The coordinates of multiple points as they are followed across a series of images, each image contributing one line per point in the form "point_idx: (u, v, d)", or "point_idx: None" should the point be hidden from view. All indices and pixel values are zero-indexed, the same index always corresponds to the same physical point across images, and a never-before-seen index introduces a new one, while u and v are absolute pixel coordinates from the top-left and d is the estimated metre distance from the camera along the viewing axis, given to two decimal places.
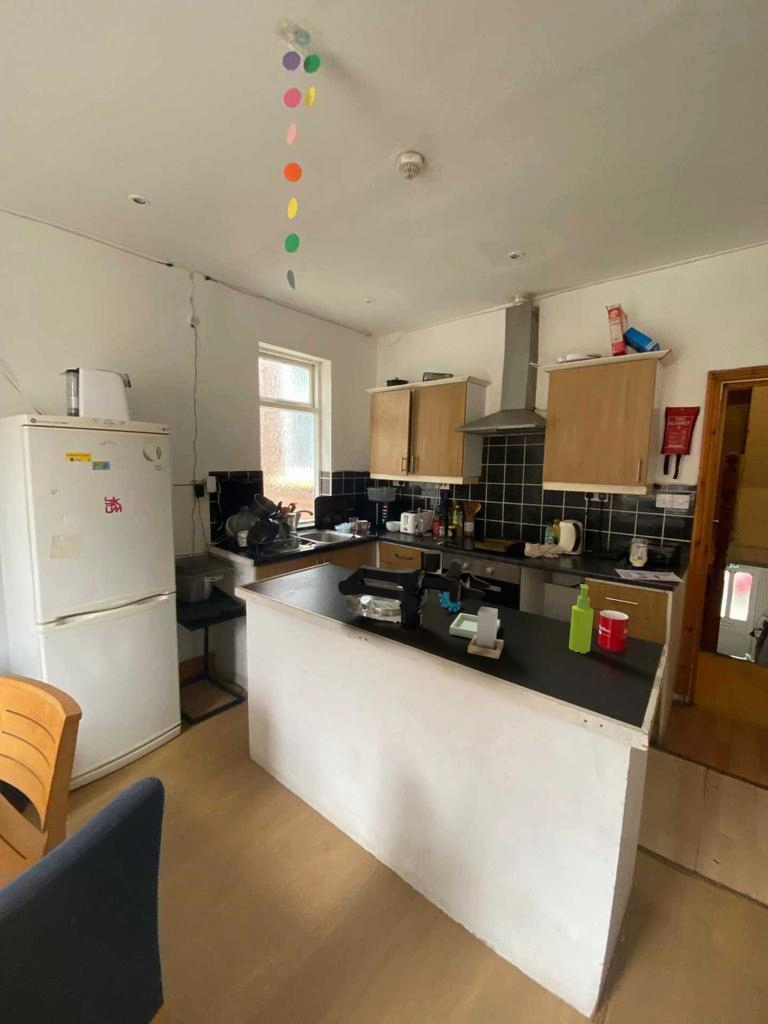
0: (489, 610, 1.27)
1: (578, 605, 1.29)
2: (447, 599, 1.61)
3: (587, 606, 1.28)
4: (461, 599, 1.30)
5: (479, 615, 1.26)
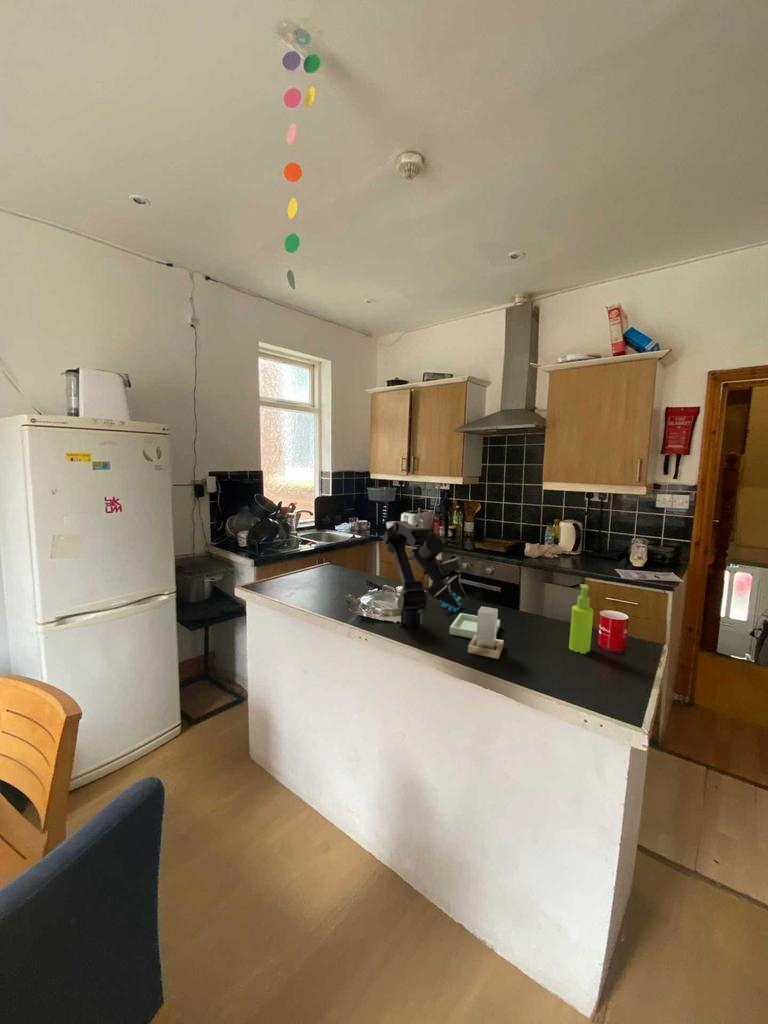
0: (489, 610, 1.27)
1: (578, 605, 1.29)
2: None
3: (587, 606, 1.28)
4: (437, 596, 1.26)
5: (479, 615, 1.26)
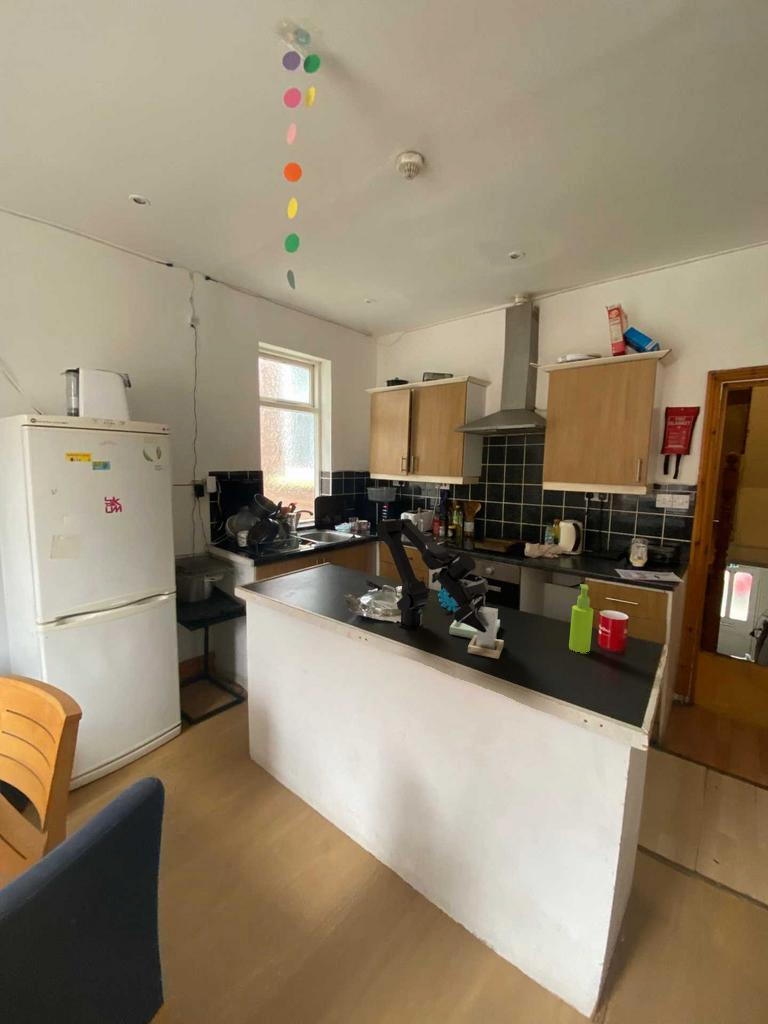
0: (489, 610, 1.27)
1: (578, 605, 1.29)
2: (446, 599, 1.61)
3: (587, 606, 1.28)
4: (463, 621, 1.23)
5: (479, 615, 1.26)
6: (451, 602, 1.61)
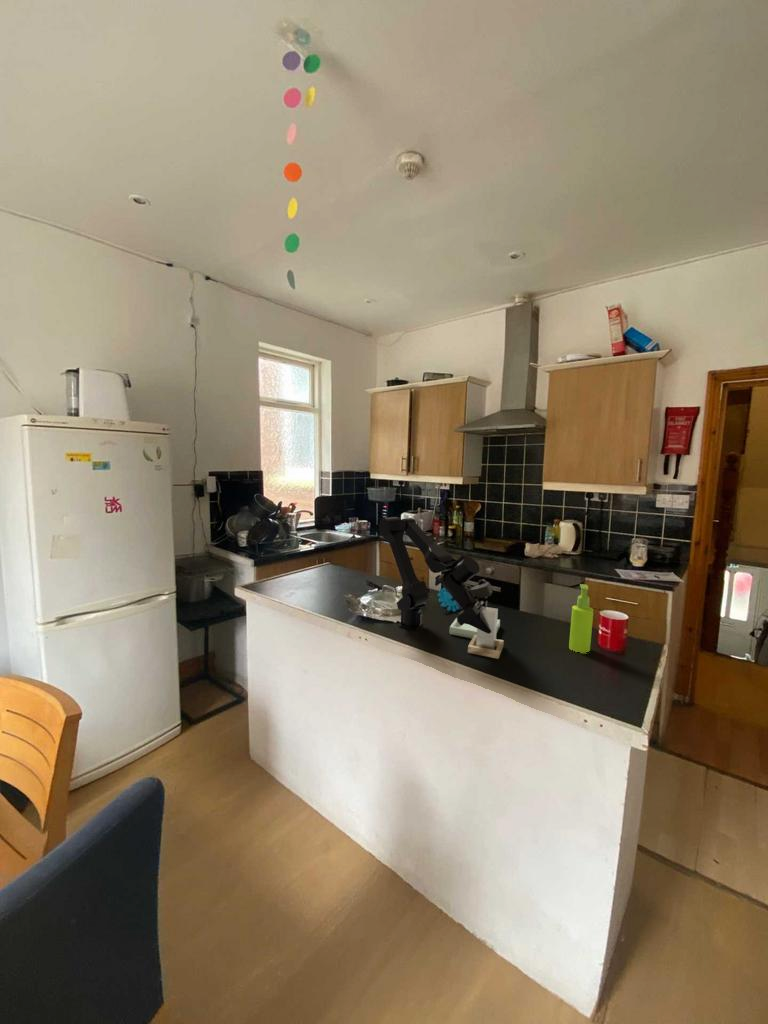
0: (489, 610, 1.27)
1: (578, 605, 1.29)
2: (446, 599, 1.61)
3: (587, 606, 1.28)
4: (468, 622, 1.25)
5: None
6: (451, 602, 1.62)
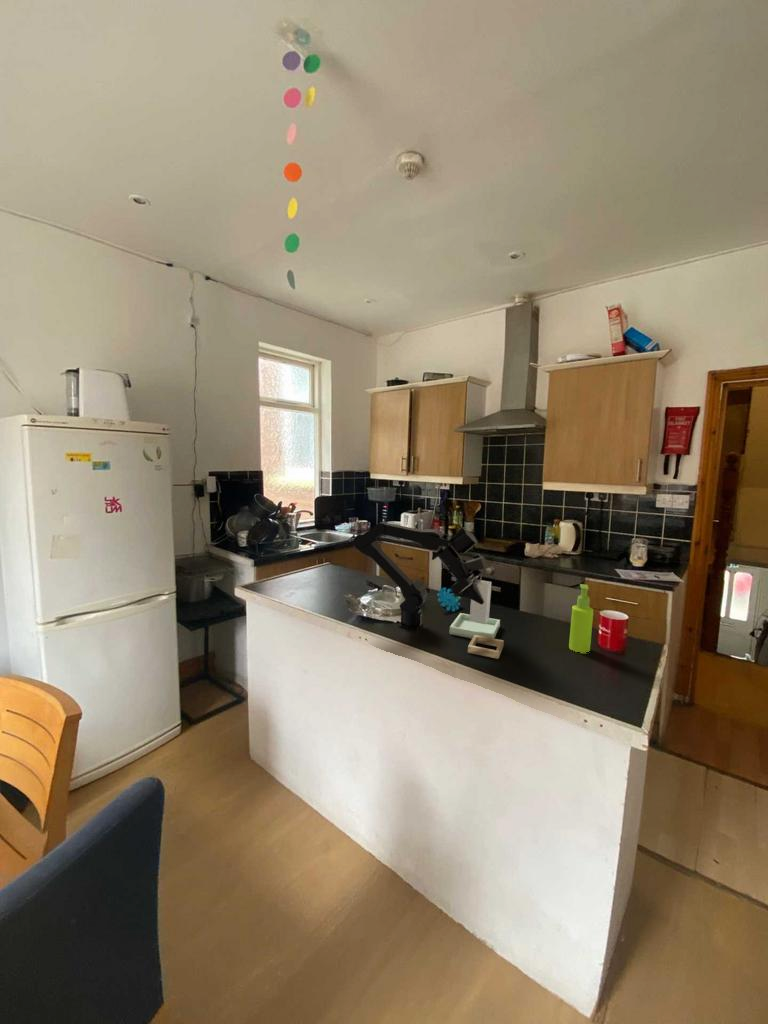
0: (483, 583, 1.34)
1: (578, 605, 1.29)
2: (446, 598, 1.62)
3: (587, 606, 1.28)
4: (462, 592, 1.32)
5: None
6: (450, 602, 1.62)
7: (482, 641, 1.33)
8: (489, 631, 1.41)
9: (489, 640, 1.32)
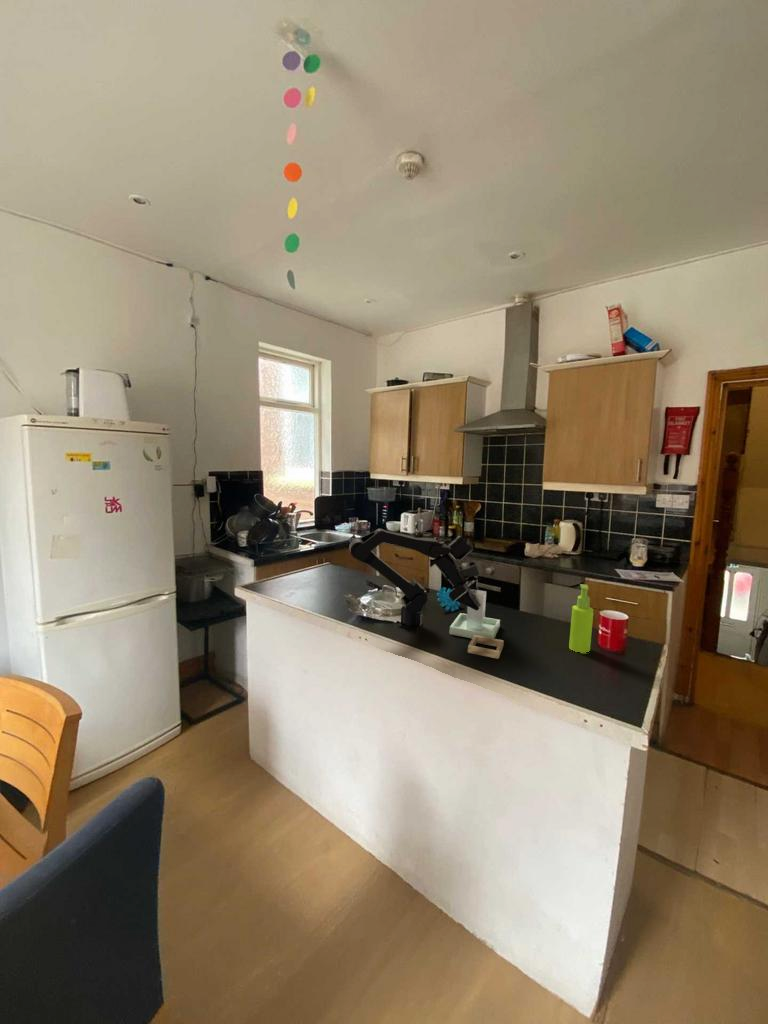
0: (478, 592, 1.41)
1: (578, 605, 1.29)
2: (445, 598, 1.62)
3: (587, 606, 1.28)
4: (458, 599, 1.37)
5: None
6: (450, 601, 1.62)
7: (482, 641, 1.33)
8: (489, 631, 1.41)
9: (489, 640, 1.32)
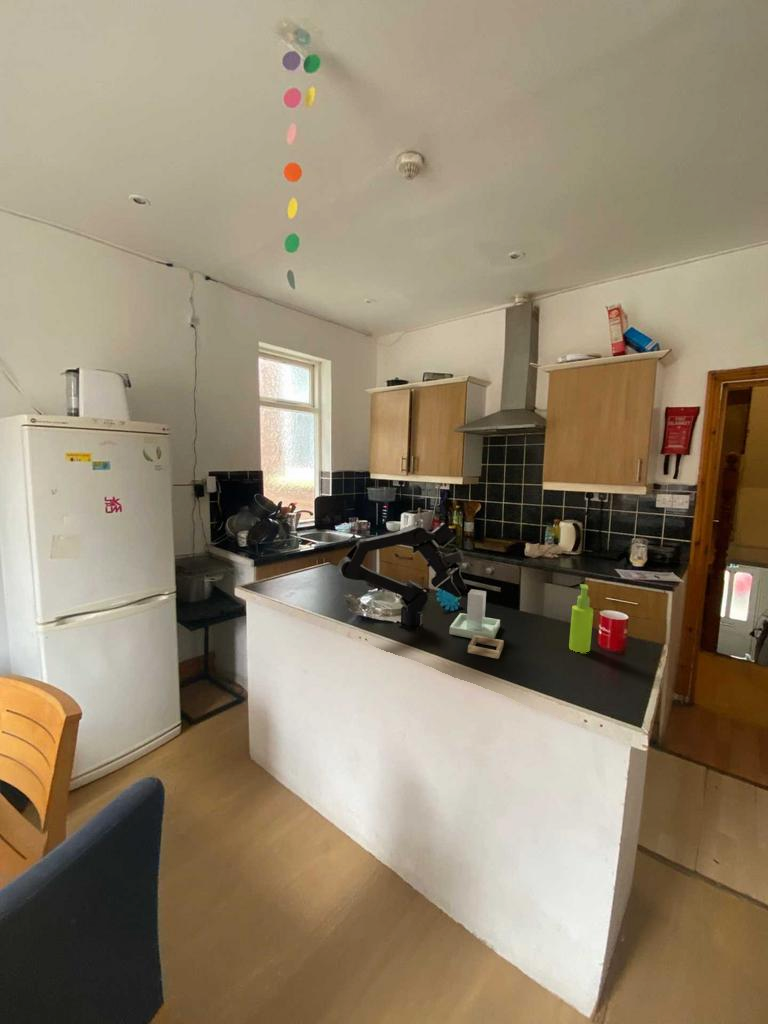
0: (478, 592, 1.41)
1: (578, 605, 1.29)
2: (445, 598, 1.62)
3: (587, 606, 1.28)
4: (440, 586, 1.36)
5: (469, 597, 1.40)
6: (449, 601, 1.62)
7: (482, 641, 1.33)
8: (489, 631, 1.41)
9: (489, 640, 1.32)
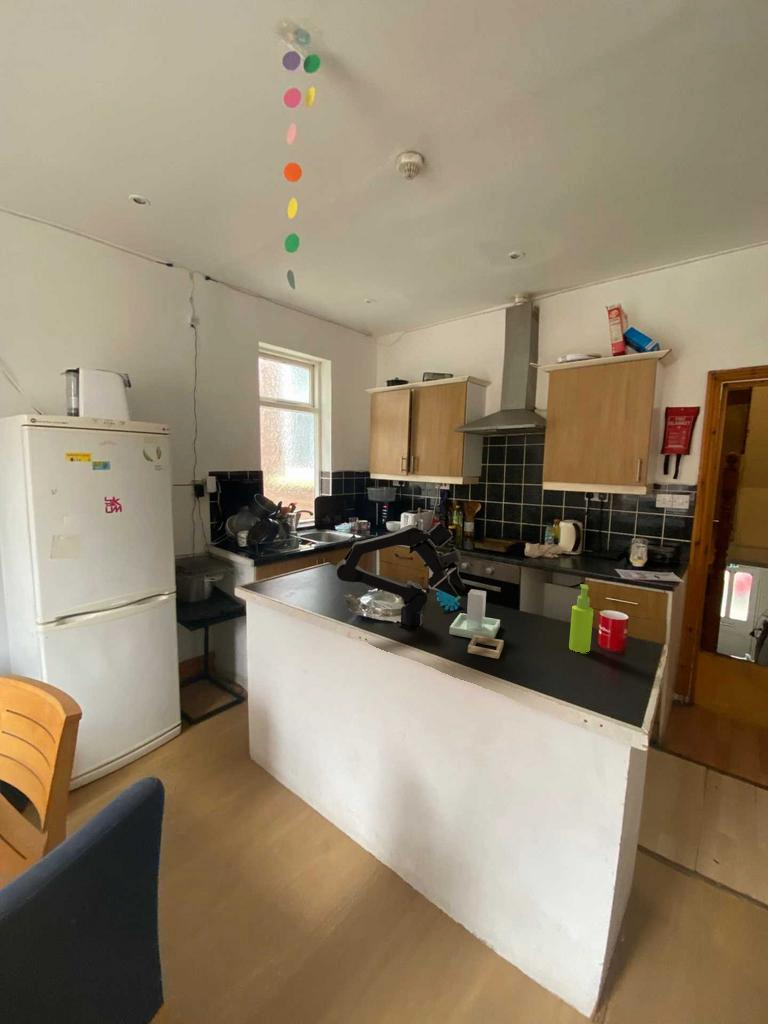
0: (478, 592, 1.41)
1: (578, 605, 1.29)
2: (445, 598, 1.62)
3: (587, 606, 1.28)
4: (437, 586, 1.35)
5: (469, 597, 1.40)
6: (449, 601, 1.62)
7: (482, 641, 1.33)
8: (489, 631, 1.41)
9: (489, 640, 1.32)
